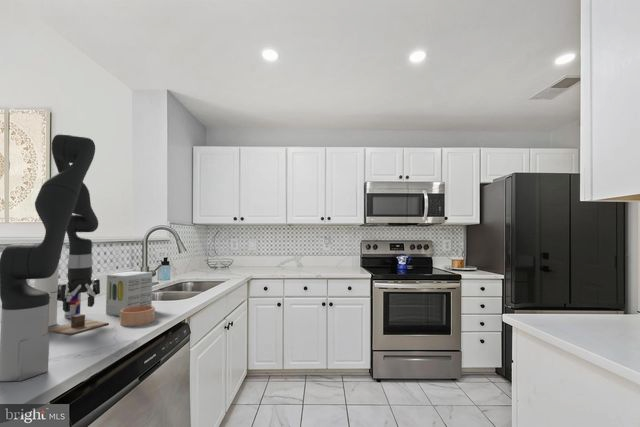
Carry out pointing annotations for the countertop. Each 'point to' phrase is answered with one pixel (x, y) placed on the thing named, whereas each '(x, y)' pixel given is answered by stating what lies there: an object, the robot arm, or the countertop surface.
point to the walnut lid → (77, 325)
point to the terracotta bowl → (137, 315)
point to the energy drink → (74, 305)
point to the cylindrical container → (50, 294)
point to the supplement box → (128, 291)
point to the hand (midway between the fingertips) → (79, 309)
